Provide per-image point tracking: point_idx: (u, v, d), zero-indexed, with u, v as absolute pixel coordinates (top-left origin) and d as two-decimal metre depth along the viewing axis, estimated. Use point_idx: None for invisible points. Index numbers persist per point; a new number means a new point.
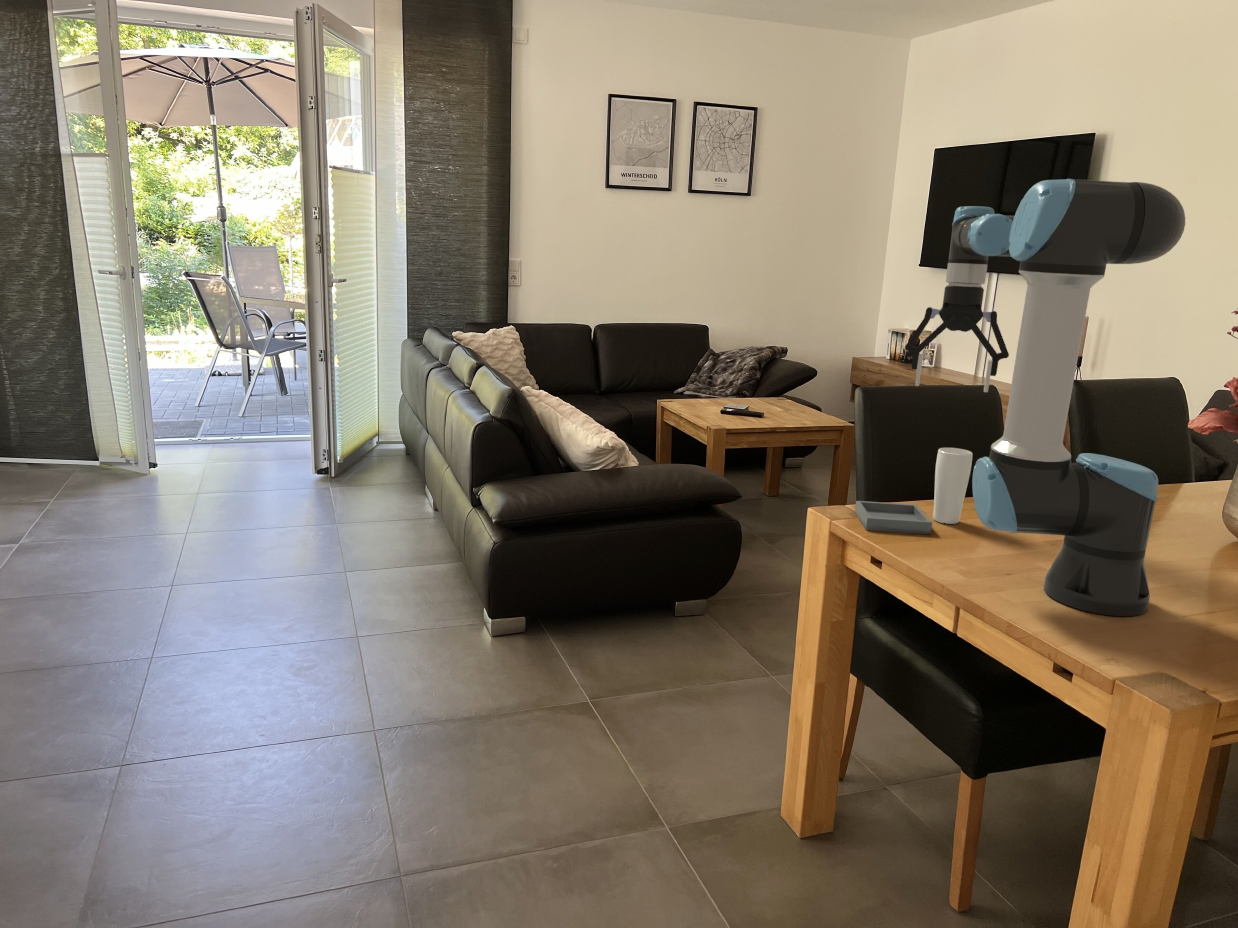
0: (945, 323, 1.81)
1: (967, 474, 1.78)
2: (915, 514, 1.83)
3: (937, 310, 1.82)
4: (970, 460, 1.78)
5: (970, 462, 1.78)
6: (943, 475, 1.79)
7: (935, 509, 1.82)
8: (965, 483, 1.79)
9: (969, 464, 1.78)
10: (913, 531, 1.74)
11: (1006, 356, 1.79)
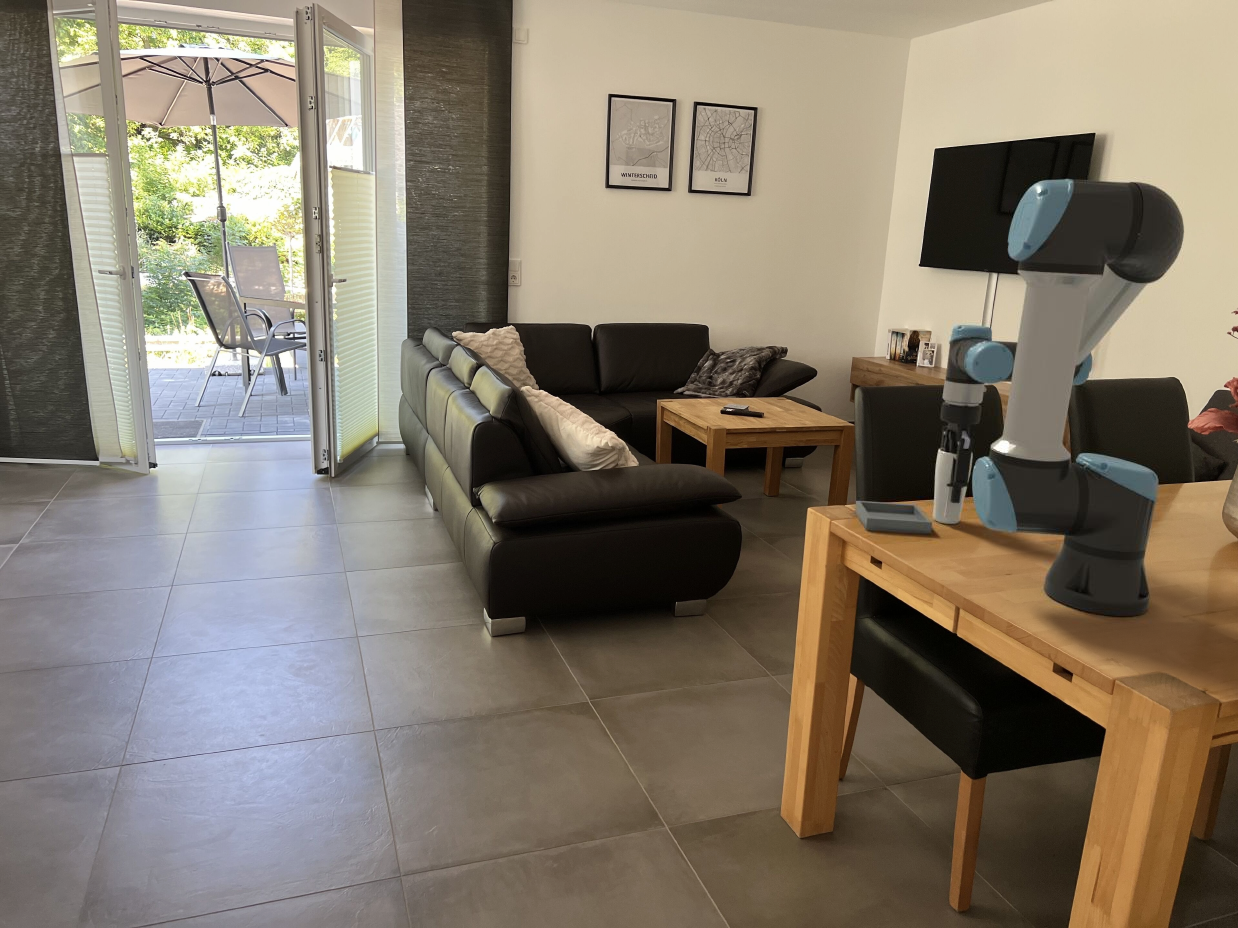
0: (945, 440, 1.82)
1: None
2: (915, 514, 1.83)
3: None
4: (970, 460, 1.78)
5: (970, 462, 1.78)
6: (943, 475, 1.79)
7: (935, 509, 1.82)
8: None
9: None
10: (913, 531, 1.74)
11: (953, 484, 1.76)
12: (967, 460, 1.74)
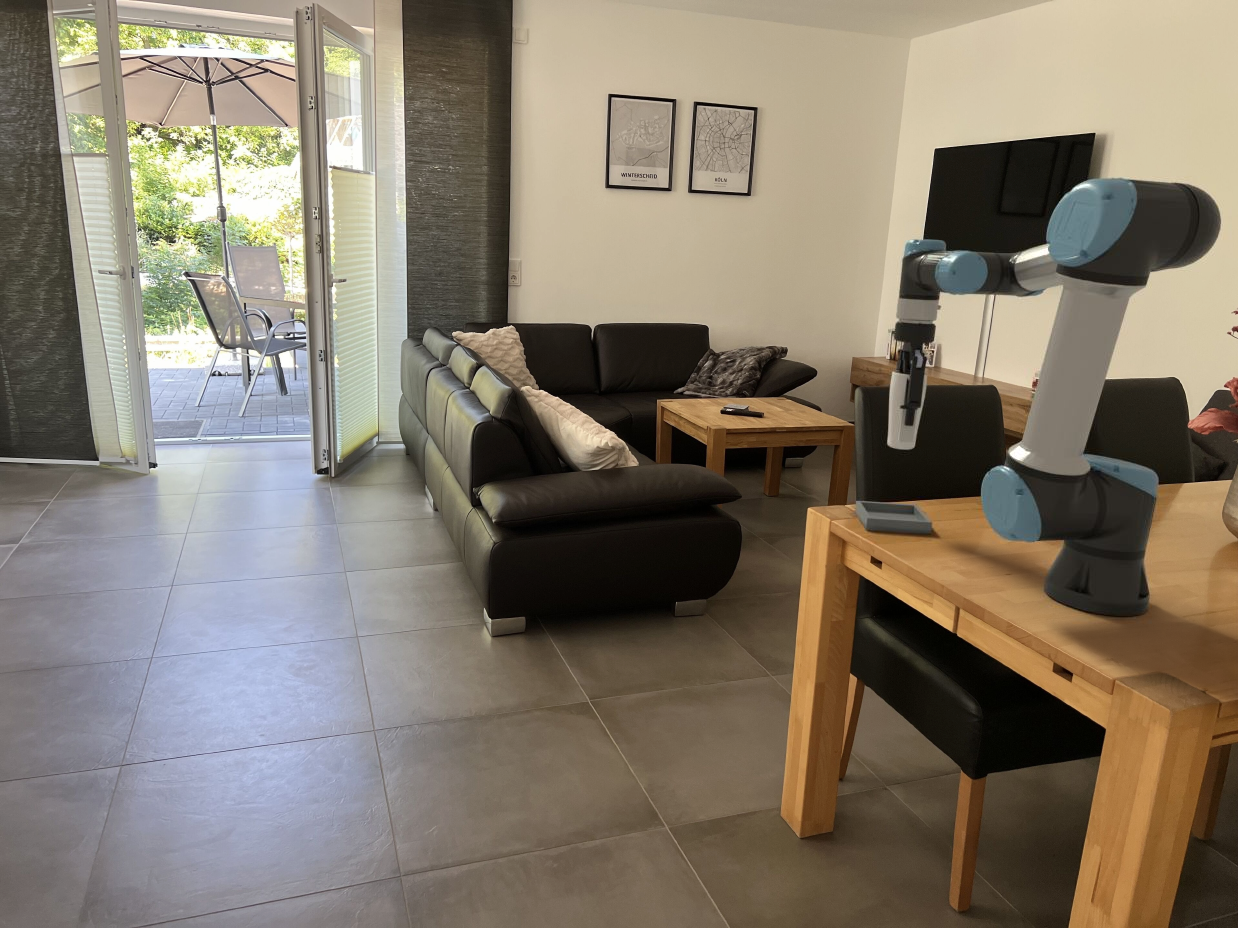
0: (899, 362, 1.75)
1: None
2: (915, 514, 1.83)
3: None
4: (924, 381, 1.71)
5: (924, 384, 1.71)
6: (897, 397, 1.72)
7: (889, 434, 1.76)
8: None
9: (923, 386, 1.71)
10: (913, 531, 1.74)
11: (906, 405, 1.69)
12: (920, 379, 1.67)
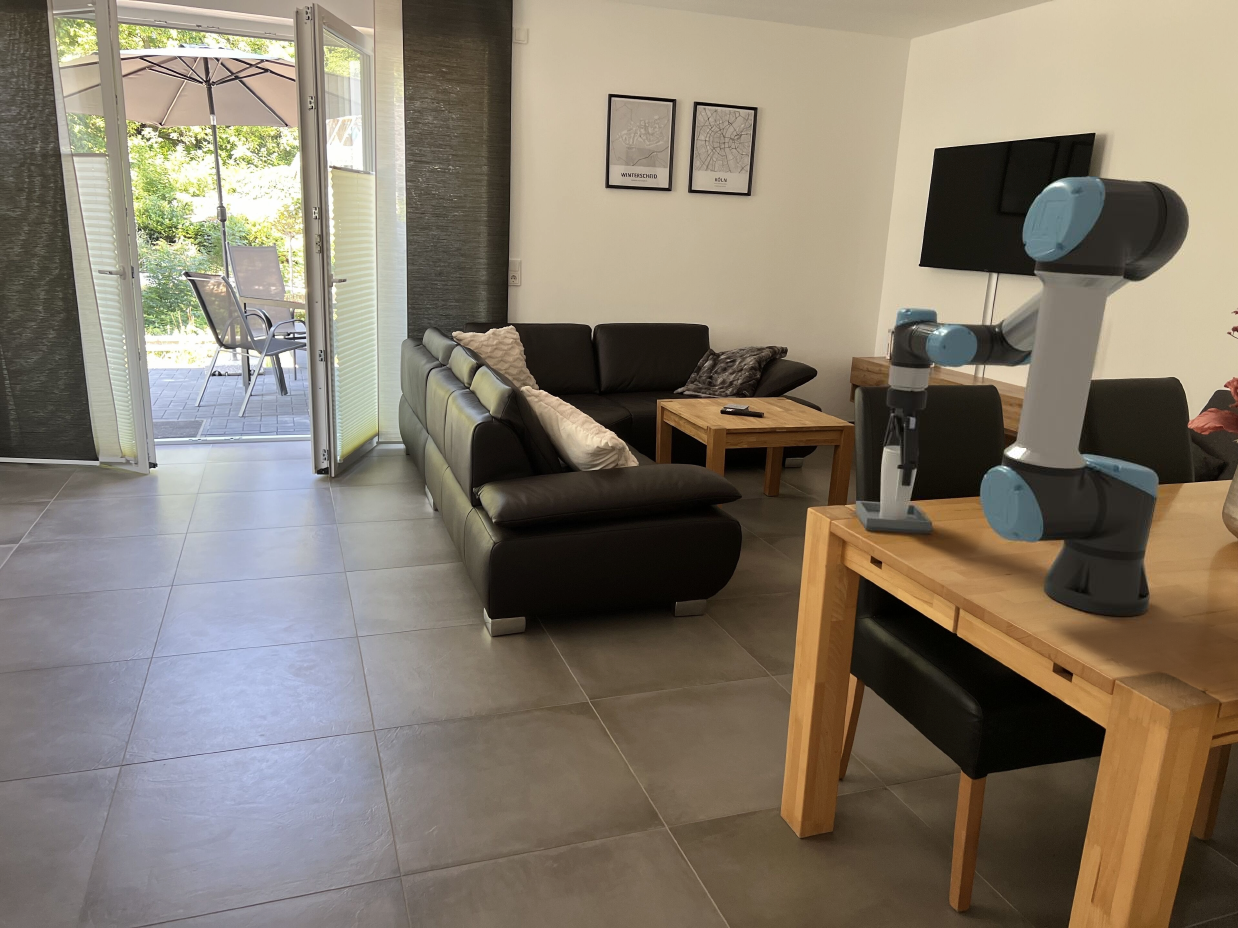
0: (891, 423, 1.78)
1: None
2: (915, 514, 1.83)
3: None
4: None
5: None
6: (888, 474, 1.75)
7: (881, 509, 1.78)
8: None
9: None
10: (913, 531, 1.74)
11: (903, 466, 1.68)
12: (915, 440, 1.68)
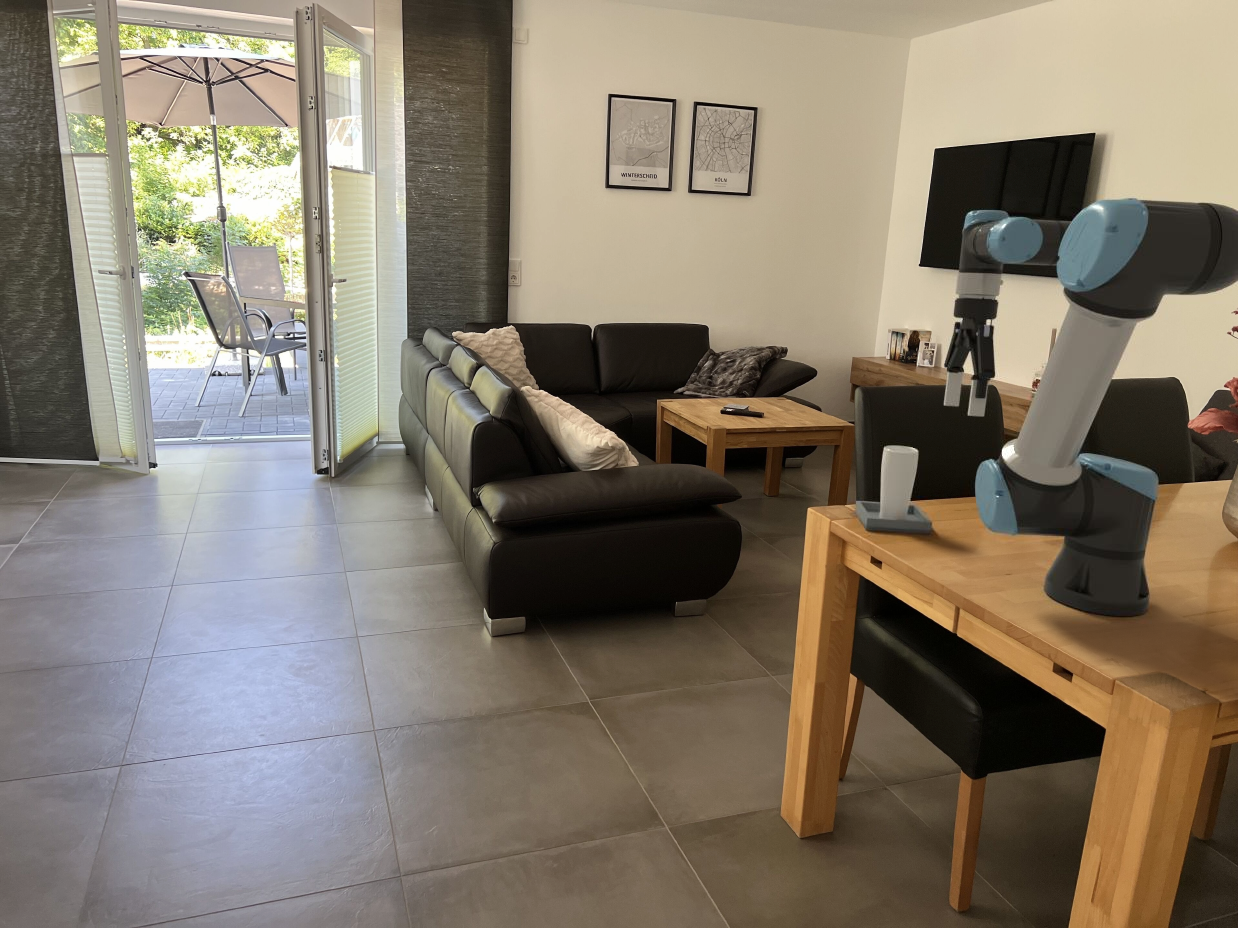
0: (957, 338, 1.68)
1: (913, 473, 1.74)
2: (915, 514, 1.83)
3: None
4: (916, 458, 1.74)
5: (915, 461, 1.74)
6: (888, 474, 1.75)
7: (881, 509, 1.78)
8: (911, 482, 1.75)
9: (915, 462, 1.74)
10: (913, 531, 1.74)
11: (980, 375, 1.57)
12: (990, 348, 1.57)
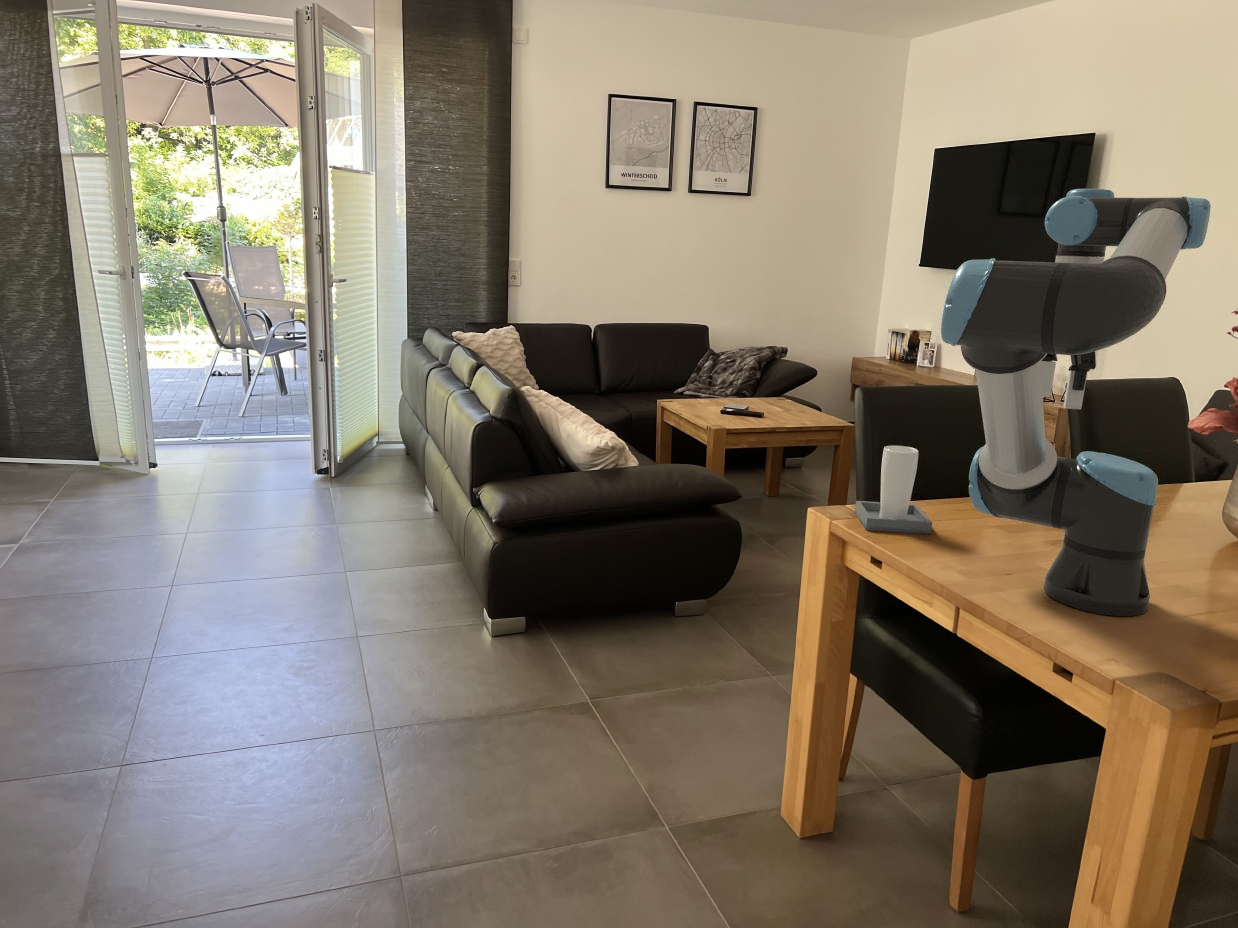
0: None
1: (913, 473, 1.74)
2: (915, 514, 1.83)
3: None
4: (916, 458, 1.74)
5: (915, 461, 1.74)
6: (888, 474, 1.75)
7: (881, 509, 1.78)
8: (911, 482, 1.75)
9: (915, 462, 1.74)
10: (913, 531, 1.74)
11: (1079, 366, 1.47)
12: None
